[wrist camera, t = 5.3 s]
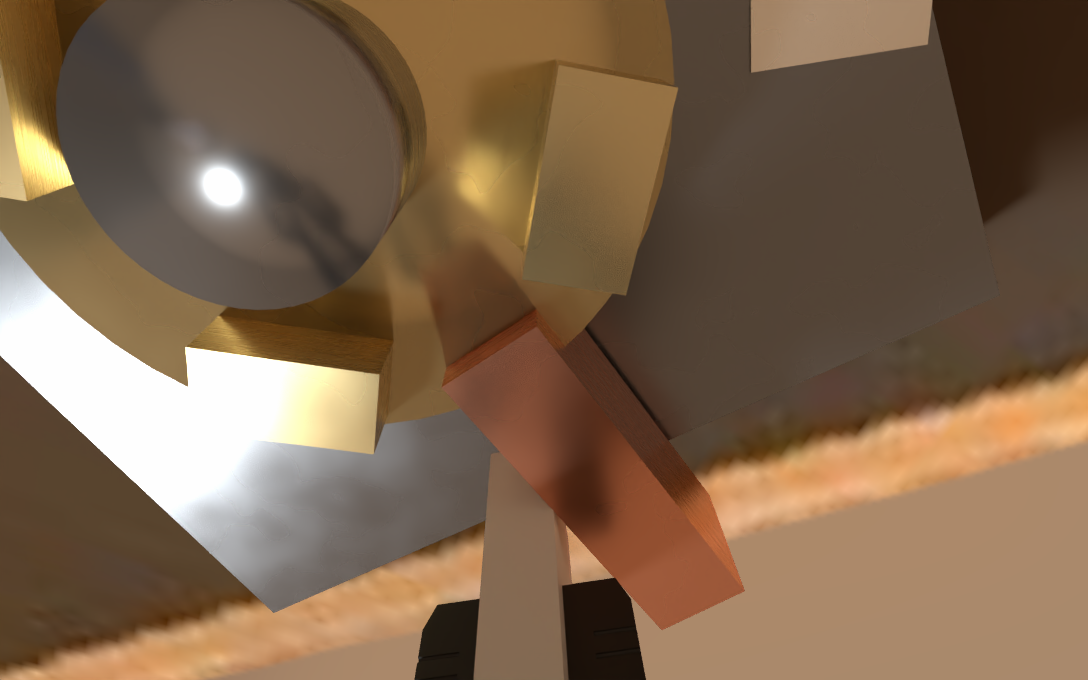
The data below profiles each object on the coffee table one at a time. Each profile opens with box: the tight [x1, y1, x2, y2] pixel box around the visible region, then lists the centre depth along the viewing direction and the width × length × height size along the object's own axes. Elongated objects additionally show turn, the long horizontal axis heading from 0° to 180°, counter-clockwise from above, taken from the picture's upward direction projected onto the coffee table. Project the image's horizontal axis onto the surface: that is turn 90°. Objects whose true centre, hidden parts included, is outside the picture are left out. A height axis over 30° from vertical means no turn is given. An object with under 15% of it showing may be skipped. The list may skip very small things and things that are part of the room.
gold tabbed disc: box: [0, 0, 745, 630], centre depth 11 cm, size 18×11×4 cm, turn 35°
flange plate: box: [0, 0, 1000, 613], centre depth 11 cm, size 20×20×8 cm
